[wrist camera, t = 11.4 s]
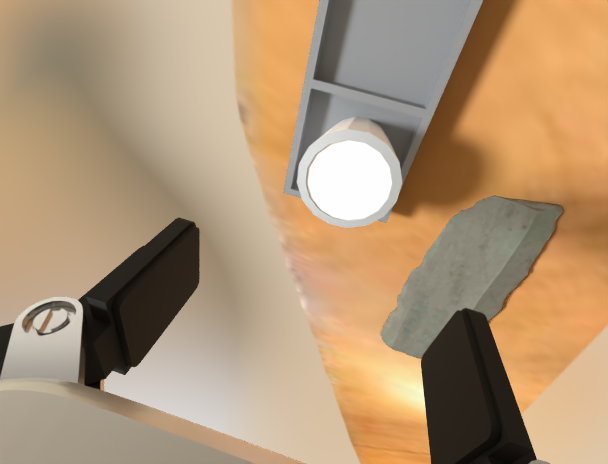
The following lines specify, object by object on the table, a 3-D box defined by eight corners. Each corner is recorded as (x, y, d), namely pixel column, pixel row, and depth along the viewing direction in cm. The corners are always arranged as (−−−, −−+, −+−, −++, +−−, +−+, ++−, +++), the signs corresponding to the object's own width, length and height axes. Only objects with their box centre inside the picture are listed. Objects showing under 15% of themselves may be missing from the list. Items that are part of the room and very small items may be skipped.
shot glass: (355, 88, 23) (346, 103, 17) (415, 150, 24) (426, 184, 18) (299, 153, 26) (276, 183, 21) (355, 203, 28) (348, 245, 22)
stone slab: (378, 328, 40) (455, 360, 38) (374, 345, 37) (457, 379, 35) (453, 172, 27) (573, 206, 25) (455, 182, 25) (587, 220, 23)
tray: (290, 182, 29) (283, 192, 27) (342, -83, 19) (337, -99, 17) (385, 210, 29) (386, 223, 27) (495, -49, 18) (509, -61, 16)
